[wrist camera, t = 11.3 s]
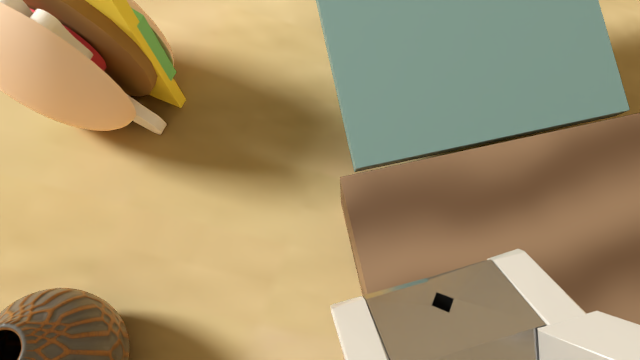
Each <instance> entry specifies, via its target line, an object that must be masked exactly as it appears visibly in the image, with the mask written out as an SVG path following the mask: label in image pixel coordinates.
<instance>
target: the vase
mask: <svg viewBox="0 0 640 360" xmlns="http://www.w3.org/2000/svg"><path fill="white" fill-rule="evenodd" d="M129 350H130V345H129V336H128V332H127V329H126V327H125V324H124V322H123V320H122V318H121V317H120V315H119V314H118V313H117V311H116V310H115V309H114V308H113V307H112V306H111V305H110V304H109V303H107V302H106V301H104V300H103V299H101V298H99V297H97V296H95V295H93V294H91V293H88V292H85V291H82V290H77V289H70V288H55V289H48V290H43V291H39V292H35V293H32V294H30V295H27V296H25V297H23V298H21V299H19V300H17V301H15V302H14V303H12V304H11V305H9V306H8V307H6V308H5V309H4V310H3V311H2V312H1V313H0V360H128V359H129Z"/></svg>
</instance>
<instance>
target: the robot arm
mask: <svg viewBox="0 0 640 360" xmlns="http://www.w3.org/2000/svg"><path fill="white" fill-rule="evenodd" d="M331 312H332V316H333V320H334V323H335V327H336V330H337V334H338V337H339V341H340V344H341V348H342V352H343V355H344V359H345V360H640V325H639V324H636V323H633V322H630V321H627V320H624V319H621V318H618V317H615V316H612V315H609V314H606V313H603V312H600V311H594V312H591V313H586V312H585V311H584V310H583V309H582V308H581V307H580V306H579V305H578V304H577V303H576V302H575V301H574V300H573V299H572V298H571V297H570V296H569V295H568V294H567V293H566V292H565V291H564V290H563V289H562V288H561V287H560V286H559V285H558V284H557V283H556V282H555V281H554V280H553V279H552V278H551V277H550V276H549V275H548V274H547V273H546V272H545V271H544V270H543V269H542V268H541V267H540V266H539V265H538V264H537V263H536V262H535V261H534V260H533V259H532V258H531V257H530V256H529V255H528V254H527V253H526V252H525V251H523V250H520V249H515V250H512V251H509V252H506V253H503V254H500V255H497V256H494V257H491V258H488V259H487V260H485V261H481V262H478V263H475V264H471V265H468V266H465V267H462V268H458V269H455V270H452V271H448V272H445V273H442V274H439V275H435V276H432V277H429V278H424V279H420V280H417V281H413V282H409V283H406V284H402V285H399V286H395V287H391V288H388V289H384V290H380V291H377V292H373V293H369V294H366V295H363V297H362V296H360V297H356V298H353V299H349V300H346V301H342V302H339V303H335V304H332V305H331Z"/></svg>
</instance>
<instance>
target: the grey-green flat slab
mask: <svg viewBox="0 0 640 360" xmlns="http://www.w3.org/2000/svg"><path fill="white" fill-rule="evenodd" d="M316 3H317V7H318V12H319V16H320V21H321V25H322V30H323V34H324V39H325V43H326V47H327V52H328V56H329V61H330V65H331V70H332V74H333V79H334V83H335V87H336V92H337V96H338V101H339V105H340V110H341V114H342V119H343V123H344V127H345V132H346V136H347V141H348V145H349V150H350V154H351V159H352V163H353V167H354V172H357V171H362V170H366V169H371V168H376V167H380V166H385V165H390V164H394V163H399V162H404V161H408V160H413V159H418V158H422V157H427V156H432V155H436V154H441V153H446V152H450V151H455V150H460V149H464V148H469V147H474V146H478V145H483V144H487V143H492V142H497V141H501V140H506V139H511V138H515V137H520V136H525V135H529V134H534V133H539V132H543V131H548V130H553V129H557V128H562V127H567V126H571V125H576V124H581V123H585V122H590V121H595V120H599V119H604V118H609V117H613V116H617V115H619V114H621V113H624V112H626V111H628V110H630V109H629V105H628V102H627V98H626V95H625V92H624V88H623V85H622V81H621V78H620V74H619V71H618V67H617V64H616V60H615V57H614V53H613V50H612V46H611V43H610V39H609V36H608V33H607V29H606V26H605V22H604V19H603V15H602V12H601V8H600V5H599V1H598V0H316Z"/></svg>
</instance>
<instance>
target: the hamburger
mask: <svg viewBox="0 0 640 360" xmlns="http://www.w3.org/2000/svg"><path fill="white" fill-rule="evenodd" d="M175 74H176V70H175V69H174V56H173V53H172V50H171V48H170V45H169V43H168V42H167V40H166V38H165V37H164V35H163V34H162V32H161V31H160V29H159V28H158V27H157V26H156V24H155V23H154V22H153V20H152V19H151V18H150V17H149V16H148V15H147V14H146V13H145V12H144V11H143V9H142V8H141V7H140V6H139V5H138V4H136V3H135V2H134V1H133V0H0V90H1V91H2V92H4V93H5V94H7V95H8V96H10V97H11V98H13V99H14V100H16V101H17V102H19V103H21V104H22V105H24V106H26V107H28V108H30V109H31V110H33V111H35V112H37V113H39V114H41V115H44V116H46V117H48V118H51V119H53V120H55V121H58V122H61V123H64V124H67V125H70V126H74V127H78V128H82V129H88V130H98V131H109V130H115V129H119V128H122V127H125V126H127V125H128V124H129V123H131V122H132V121H134V122H136V123H137V124H139V125H141V126H143V127H145V128H147V129H148V130H150V131H152V132H154V133H157V134H161V133H162V132H163V130H164V128H165V127H166V125H167V124H166V123H165V121H164V120H163V119H161V118H160V117H159V116H158V115H156V114H155V113H153V112H152V111H150V110H149V109H147V108H146V107H144V106H143V105H141V104H140V103H139V102H137V101H136V100H134V99H133V98H131V97H130V96H129V95H132V96H138V97H141V96H145V95H150V96H153V97H155V98H158V99H160V100H162V101H165V102H167V103H170V104H172V105H175V106H177V107H179V108H181V107H182V106H183V104H184V102H185V101H186V98H185V97H184V95H183V93H182V92H181V90H180V88H179V87H178V85H177V83H176V82H175V80H174V78H173V77H174V76H175Z"/></svg>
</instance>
